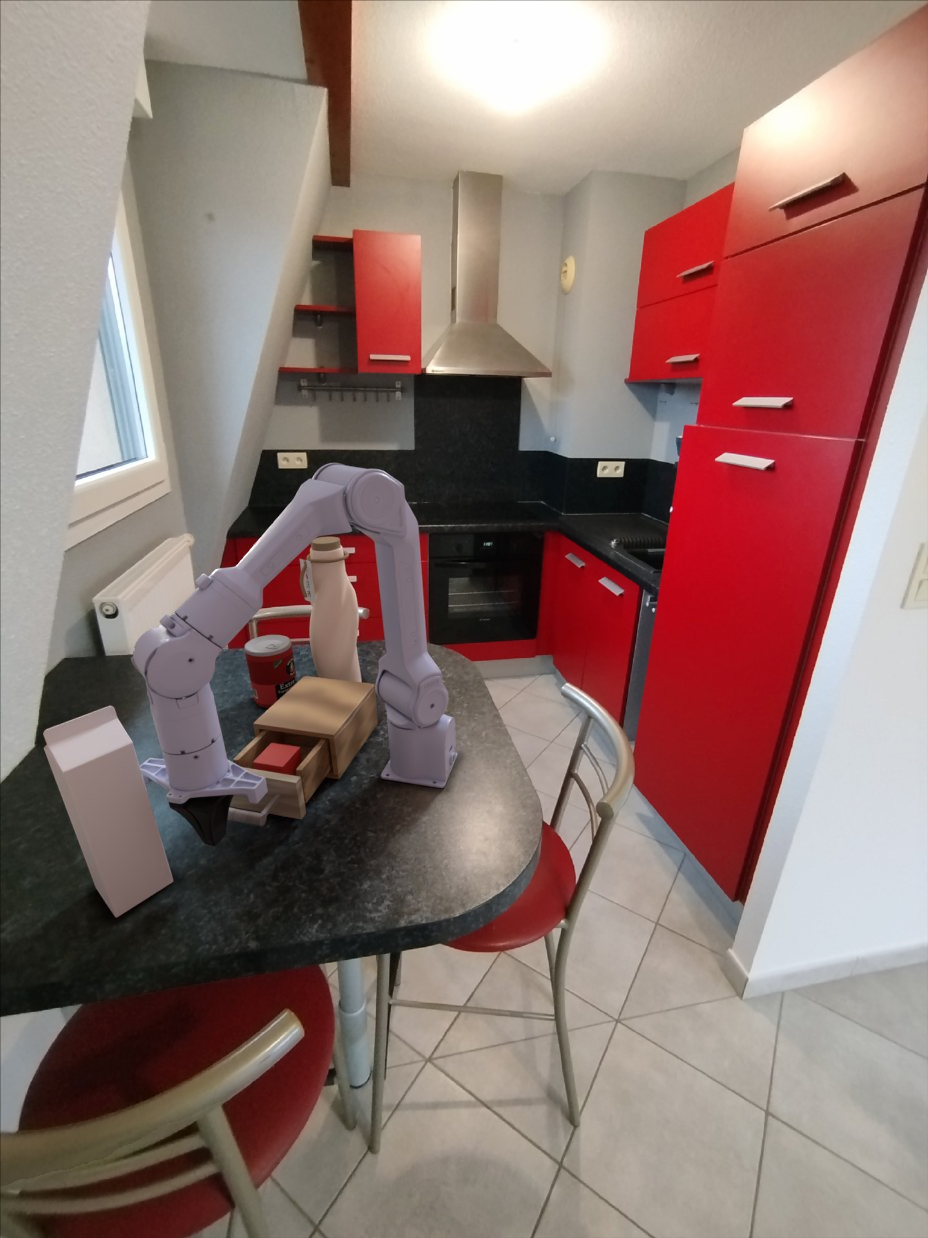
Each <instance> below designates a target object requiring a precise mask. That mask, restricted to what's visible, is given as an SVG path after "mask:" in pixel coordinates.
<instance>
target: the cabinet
mask: <svg viewBox="0 0 928 1238" xmlns="http://www.w3.org/2000/svg"><path fill="white" fill-rule="evenodd" d="M375 684H376V683H370V682H353V681H345V680H336V679H327V678H319V676H318V677H317V676H309V675H304V676H303V677H302V678H300V679H299V680H297V683H296V684H295V685H294V686H293V687H292V688H291V689H290V690H289V691H288V692H287V693H285V694H284V695H283V696H282V697H281V698H280V699H279V700H278V701H277V702H276V703H275V704H274V705H272V706H271V707H270V708H267V710H266V711H265V712H263V713H262V714H261V715H260V716H259V717H258V718H257V719H256V720H255V721H254V722H253V723H252V727H253V731H254V738H256V737H257V736H258V735H259V734H260V733H261V732H262V731H263V730H271V731H278V732H285V733H292V734H299V735H306V736H313V737H320V738H327V739H329V742H330V750H331V758H332V766H333V768H332V769H331V770H330V772H329V773H328V774H327V776H326V777H325V778H328V779H333V780H334V779H335V780H340V779H341V778H342V776H343V774H344V773H345V772H346V770H347V769H348V767H349V766H350V764H351V763H352V762H353V760H354V759H355V757H356V756H357V755H358V753H359V752H360V750H361V749H362V747H363V746H364V745H365V743H366V742H367V740H368V739H369V737H370V736H371V735H372V733H373V732H374V730H375V728H377V725H378V724H379V720H378V710H377V709H378V708H377V696H376V695H377V694H376V690H375Z"/></svg>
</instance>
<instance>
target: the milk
mask: <svg viewBox="0 0 928 1238" xmlns="http://www.w3.org/2000/svg"><path fill="white" fill-rule="evenodd" d="M42 735H43V738H44V741H45V743H46V745H45V746H43V751H44V752H45V756H46V758H47V761H48V764H49V766H50V770H51V772H52V774H53V777H54V780H55V783H56V785H57V788H58V790H59V794H60V797H61V799H62V801H63V804H64V807H65V809H66V812H67V814H68V817H69V820H70V823H71V825H72V828H73V831H74V833H75V837H76V838H77V839H76V840H77V841H78V844H79V847H80V849H81V852H82V854H83V857H84V860H85V864H86V866H87V868H88V871H89V873H90V877H91V879H92V882H93V885H94V887H95V889H96V890H97V892H98V893H99V895H100V897H101V898H102V900H103V902H104V903H105V904H106V905H107V907H108V908H109V910H110V912H111V913H112V914H113V916H114V917H115V918H116V919H117V918H119V917H120V916H122V915H123V914H125V913H127V912H128V911H130V910H131V909H132V908H134V907H136V906H137V905H139V904H141V903H142V902H144V901H145V900H147V899H149V898H151V896H153V895H155V894H156V893H158V892H159V891H162V890H163V889H164V888H166V887H168V886H169V885H170V884H173V882H174V877H173V875H172V871H171V868H170V864H169V860H168V856H167V853H166V851H165V846H164V844H163V841H162V837H161V834H160V829H159V827H158V823H157V820H156V817H155V814H154V810H153V806H152V803H151V800H150V797H149V793H148V790H147V786H146V784H145V783H144V779H143V776H142V772H141V769H140V762H139V758H138V756H137V752H136V749H135V746H134V742H133V740H132V739H131V737H130V735H129V733H127V731H126V729H125V727H124V725H123V724H122V722H121V721H120V720H119V717H118V715H117V712H116V709H115V707H114V706H113V705H108V706H106V707H102V708H99V709H97V710H95V711H92V712H89V713H87V714H84V715H81V716H79V717H75V718H73V719H71V720H68V721H64V722H63V723H60V724H57V725H53V726H51V727H49V728H46V729H44V731H43V734H42Z"/></svg>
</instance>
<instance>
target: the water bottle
mask: <svg viewBox="0 0 928 1238" xmlns="http://www.w3.org/2000/svg"><path fill="white" fill-rule="evenodd" d="M310 546H311V547H310V549H309V554H307V556H306V559H303V558H299V564H300V576H299V585H300V590H301V594H302V595H303V598H304V601H307V602H309V603H310V605H311V612H310V618H309V643H310V645H309V646H310V653H311V656H312V660H313V661H312V662H313V663H314V667H315V670H316V674H317V676H318V677H319V678H327V679H336V680H345V681H353V682H362V681H363V680H362V674H361V673H362V672H361V668H360V661H359V654H358V648H357V642H358V641H357V640H358V633H359V623H360V613H359V603H358V598H357V594H356V591H355V588H354V587H353V585H352V583H351V580H350V579H349V576H348V574H347V571H346V563H345V560H346V559H348V558H349V556H350V553H349V552H348V551H346V550H344V547H343V546H342V545H341V539H340V537H338V536H337V537H336V536H319V537H316V538H315V539H314V540H313V541H312V542H311V543H310ZM362 683H363V682H362Z"/></svg>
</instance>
